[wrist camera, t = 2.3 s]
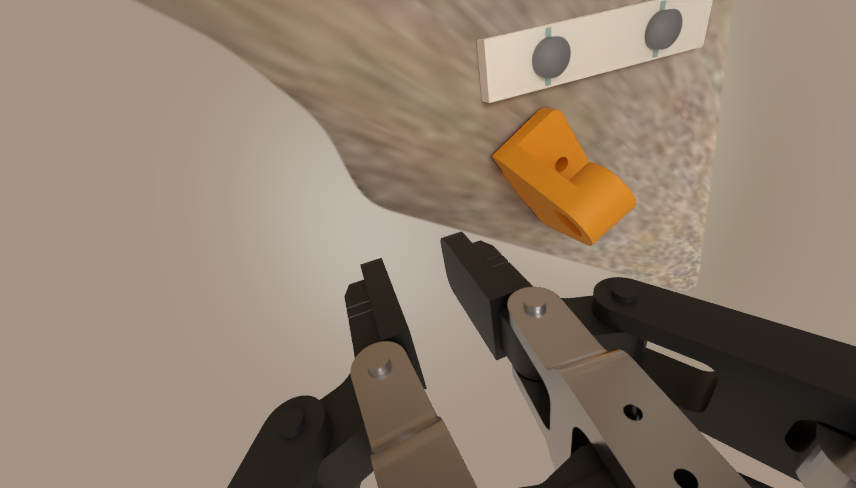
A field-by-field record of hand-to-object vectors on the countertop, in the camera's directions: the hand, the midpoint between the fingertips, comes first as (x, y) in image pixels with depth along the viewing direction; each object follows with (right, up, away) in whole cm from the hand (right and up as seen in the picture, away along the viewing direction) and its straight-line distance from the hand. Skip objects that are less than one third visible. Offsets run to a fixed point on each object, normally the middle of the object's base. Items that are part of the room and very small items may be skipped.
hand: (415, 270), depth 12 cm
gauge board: (+16, +20, +21) cm, 33 cm away
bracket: (+12, +10, +26) cm, 30 cm away
